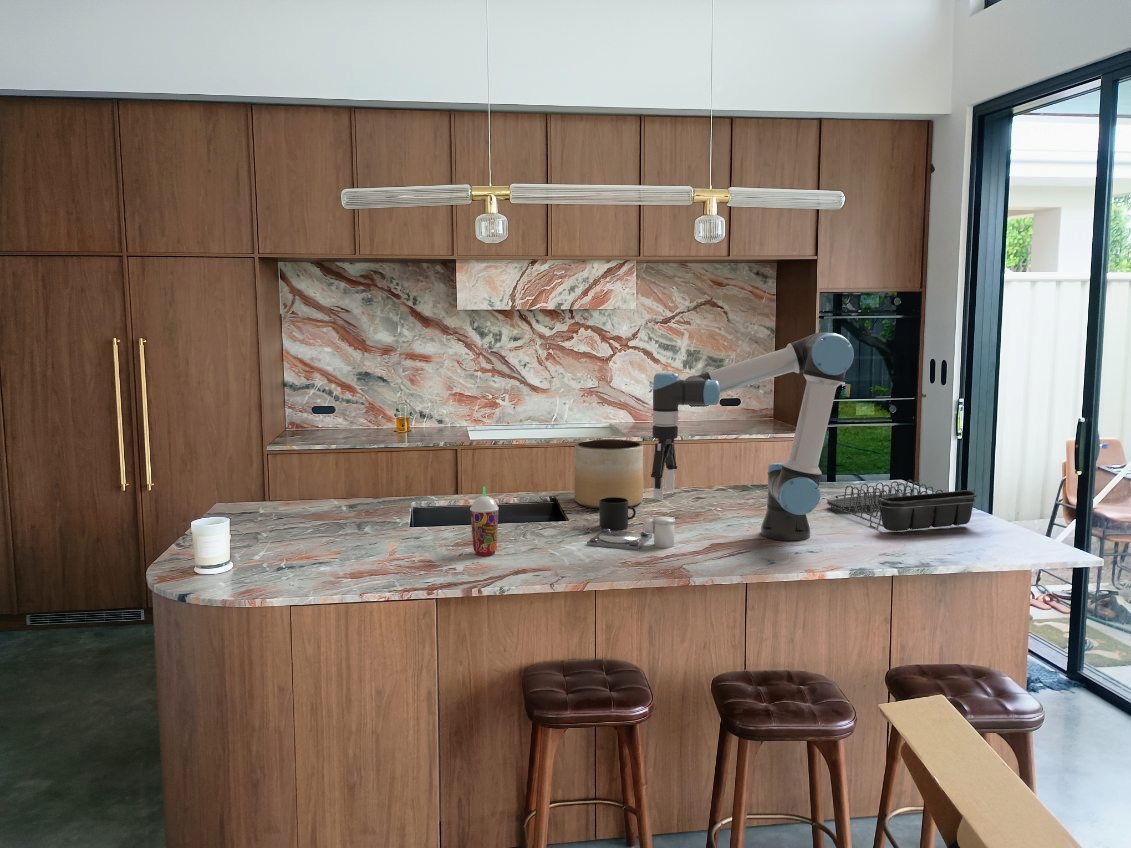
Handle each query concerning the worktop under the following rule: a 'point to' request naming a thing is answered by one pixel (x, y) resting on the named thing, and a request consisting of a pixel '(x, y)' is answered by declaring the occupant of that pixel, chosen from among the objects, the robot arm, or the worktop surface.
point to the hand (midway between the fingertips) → (664, 494)
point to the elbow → (661, 531)
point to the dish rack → (909, 507)
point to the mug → (614, 513)
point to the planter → (608, 471)
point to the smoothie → (484, 525)
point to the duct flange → (619, 539)
